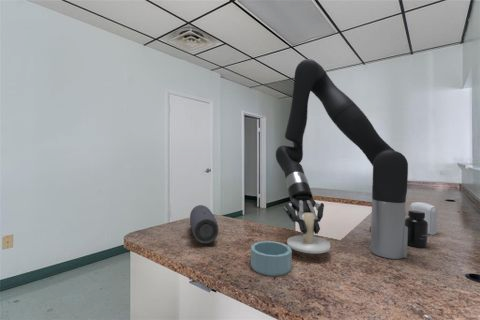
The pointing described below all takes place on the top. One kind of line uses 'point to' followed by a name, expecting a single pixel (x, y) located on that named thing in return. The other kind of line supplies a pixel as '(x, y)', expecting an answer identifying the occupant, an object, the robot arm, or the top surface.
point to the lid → (308, 239)
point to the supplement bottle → (417, 229)
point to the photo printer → (427, 215)
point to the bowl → (271, 258)
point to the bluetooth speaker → (203, 224)
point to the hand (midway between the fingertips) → (311, 232)
